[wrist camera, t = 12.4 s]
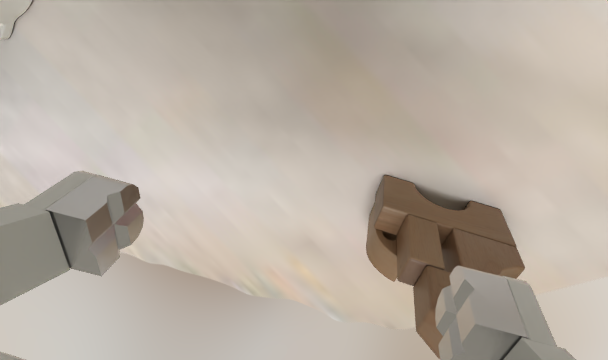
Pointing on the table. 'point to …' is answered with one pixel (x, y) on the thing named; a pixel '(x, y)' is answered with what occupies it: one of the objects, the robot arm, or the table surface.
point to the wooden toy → (435, 246)
